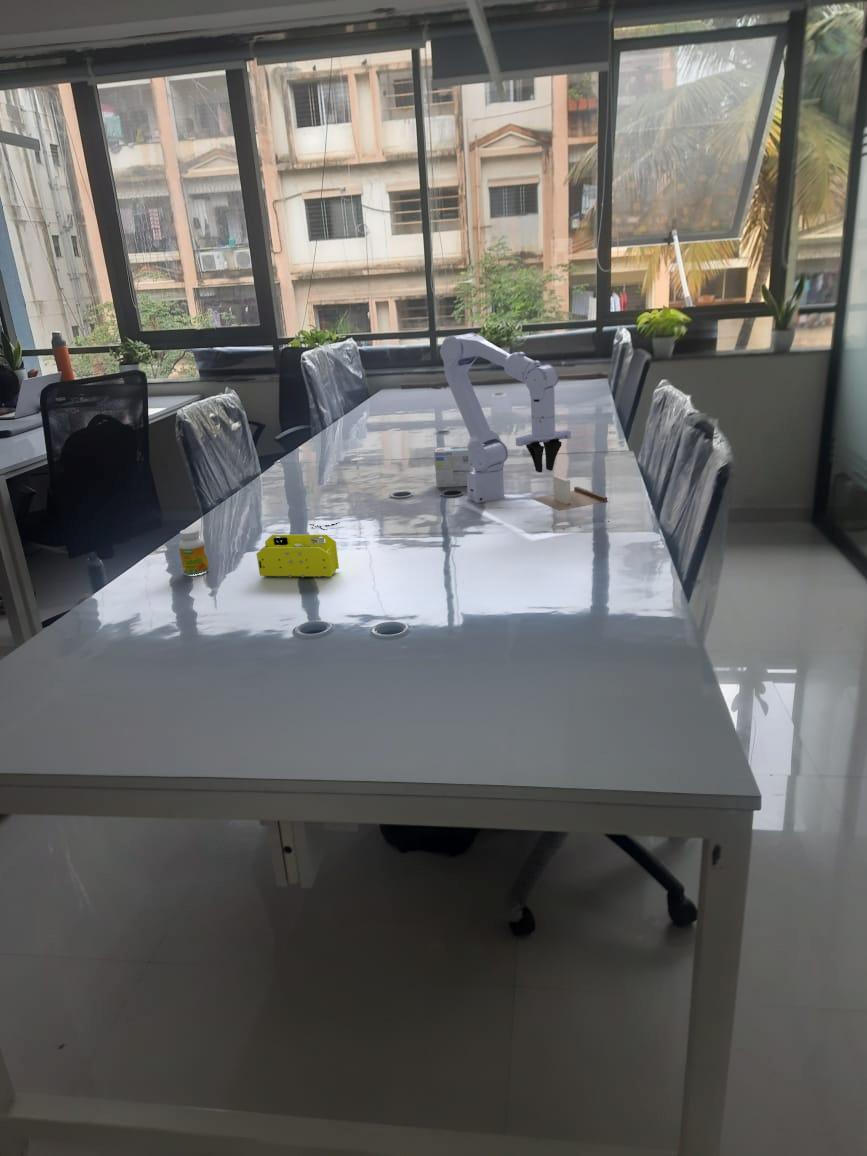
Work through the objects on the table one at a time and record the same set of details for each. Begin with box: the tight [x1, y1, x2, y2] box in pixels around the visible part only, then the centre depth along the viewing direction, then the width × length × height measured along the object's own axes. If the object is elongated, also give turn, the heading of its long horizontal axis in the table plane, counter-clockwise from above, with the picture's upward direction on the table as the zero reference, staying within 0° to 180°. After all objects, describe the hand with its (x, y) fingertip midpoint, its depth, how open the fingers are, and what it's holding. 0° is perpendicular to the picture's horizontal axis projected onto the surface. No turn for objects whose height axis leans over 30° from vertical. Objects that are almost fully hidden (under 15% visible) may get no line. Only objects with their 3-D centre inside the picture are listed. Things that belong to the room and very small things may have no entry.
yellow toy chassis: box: [256, 534, 340, 578], centre depth 167 cm, size 16×6×8 cm, turn 77°
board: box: [531, 486, 608, 511], centre depth 204 cm, size 14×14×2 cm
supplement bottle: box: [178, 527, 210, 575], centre depth 172 cm, size 5×5×10 cm
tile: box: [552, 475, 571, 504], centre depth 202 cm, size 2×6×6 cm, turn 22°
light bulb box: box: [433, 445, 474, 488], centre depth 232 cm, size 11×7×11 cm, turn 84°
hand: (544, 470), depth 199 cm, fingers open, 2 cm apart
